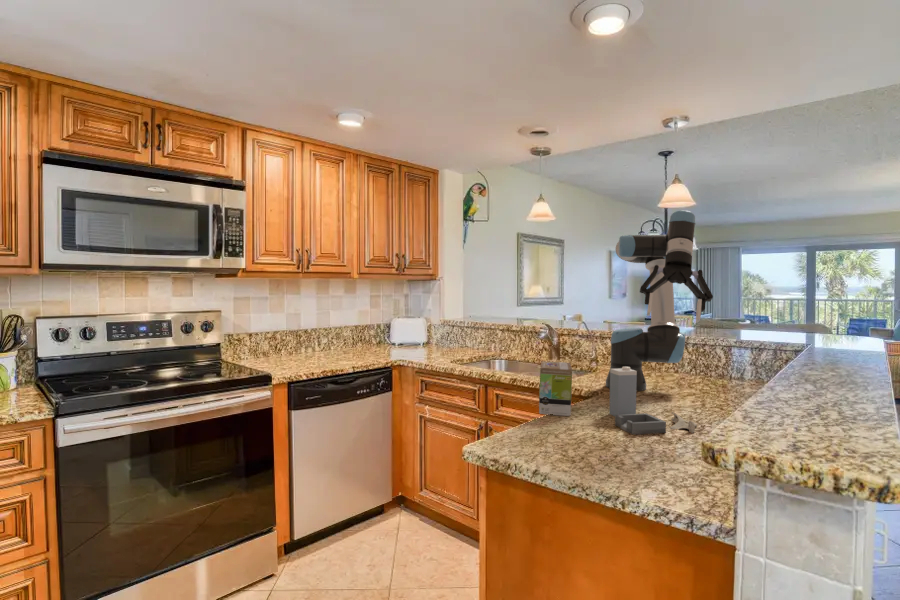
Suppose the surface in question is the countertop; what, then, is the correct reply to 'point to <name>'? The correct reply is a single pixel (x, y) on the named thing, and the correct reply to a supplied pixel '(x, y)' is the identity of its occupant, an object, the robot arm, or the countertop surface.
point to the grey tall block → (622, 391)
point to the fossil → (682, 423)
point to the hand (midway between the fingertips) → (673, 317)
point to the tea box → (555, 388)
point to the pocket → (640, 423)
